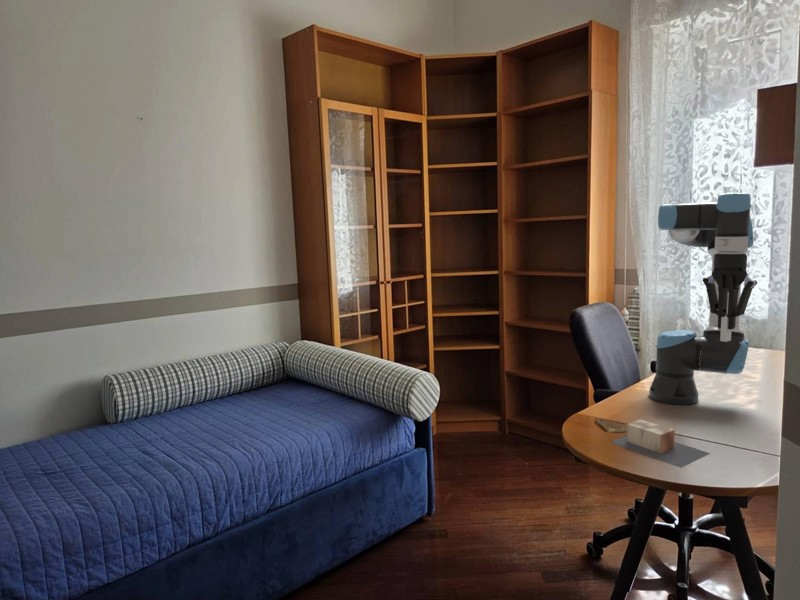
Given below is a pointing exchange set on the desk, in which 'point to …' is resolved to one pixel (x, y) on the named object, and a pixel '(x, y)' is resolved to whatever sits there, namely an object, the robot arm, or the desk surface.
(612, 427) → the shard
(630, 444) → the rubber mat
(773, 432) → the desk surface
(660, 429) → the birch block
